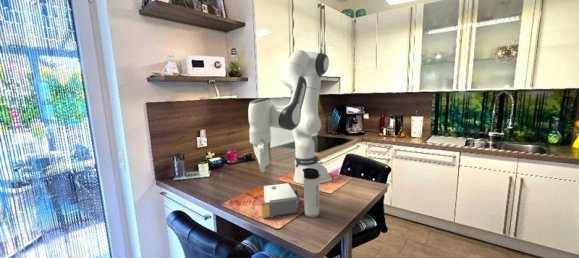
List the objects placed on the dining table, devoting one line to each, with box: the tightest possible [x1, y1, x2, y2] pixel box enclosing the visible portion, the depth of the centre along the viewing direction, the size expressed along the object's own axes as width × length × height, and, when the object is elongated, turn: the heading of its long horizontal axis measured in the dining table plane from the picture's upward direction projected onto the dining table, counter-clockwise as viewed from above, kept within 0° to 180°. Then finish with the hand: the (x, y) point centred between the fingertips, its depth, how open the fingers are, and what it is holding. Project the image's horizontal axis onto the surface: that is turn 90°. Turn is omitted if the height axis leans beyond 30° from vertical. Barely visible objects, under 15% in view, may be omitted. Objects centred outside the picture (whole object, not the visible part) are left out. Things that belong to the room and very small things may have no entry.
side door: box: [260, 197, 299, 219], centre depth 104 cm, size 16×1×6 cm, turn 104°
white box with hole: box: [263, 182, 299, 203], centre depth 113 cm, size 14×16×8 cm
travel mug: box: [303, 168, 320, 219], centre depth 103 cm, size 6×7×20 cm
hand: (261, 169), depth 105 cm, fingers open, 3 cm apart
